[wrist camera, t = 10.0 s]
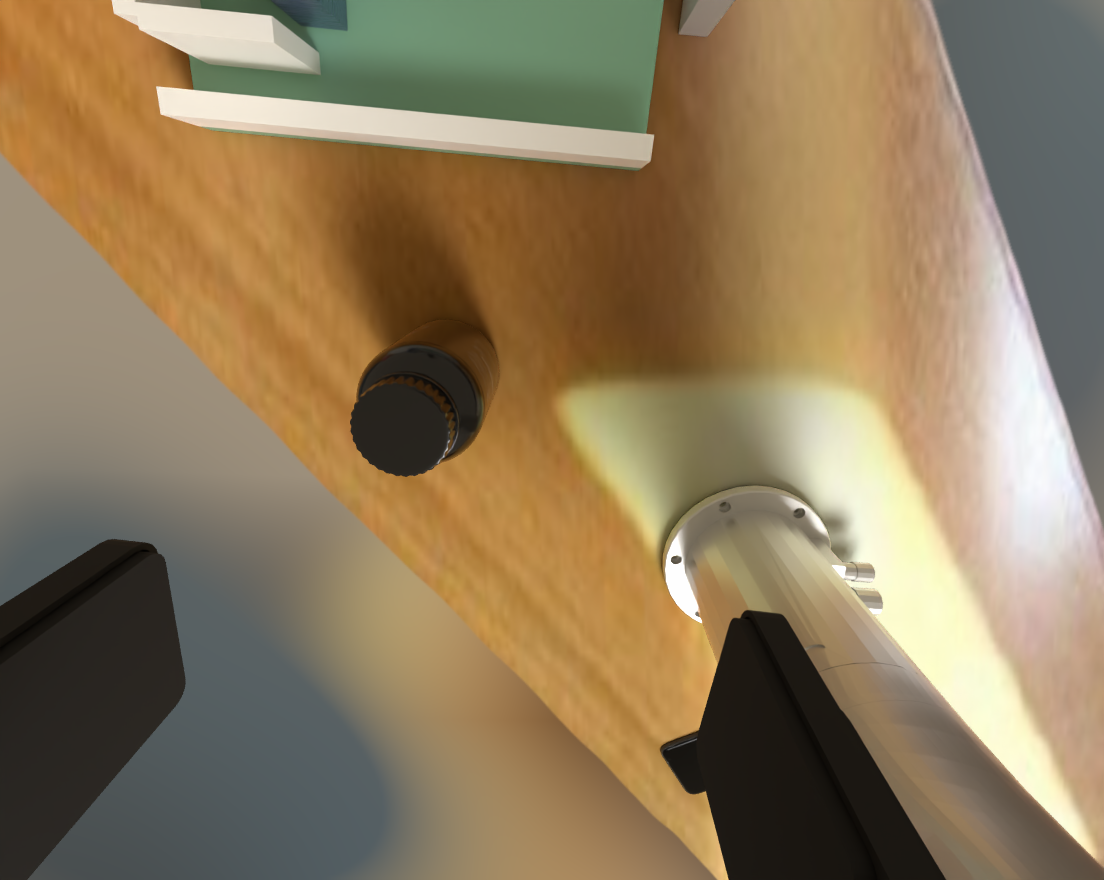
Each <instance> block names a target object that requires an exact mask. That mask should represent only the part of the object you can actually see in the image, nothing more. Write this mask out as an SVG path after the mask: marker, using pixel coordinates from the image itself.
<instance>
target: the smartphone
mask: <svg viewBox="0 0 1104 880" xmlns="http://www.w3.org/2000/svg"><path fill="white" fill-rule="evenodd" d="M698 732H699V731H698ZM698 732H695V733H693V734H690V735H687V736H685V737H682V738H679V739H677V740H674V741H671V742H669V743H666V744H665V745H663V746H662V747H661V754H662V756H663V758H664V759H665V761H666V762H667V764H668V765H669V767H670V768H671V770H672V772H673V773H674V775H675V776H676V778H677V779H678V781H679V782H680V784H681V785H682V787H683V788H684V789H685V791H686V792H688V793H689V794H699V793H702V792H705V791H706V790H705V786H704V782H703V778H702V774H701V770H700V766H699V762H698V758H697V736H698Z"/></svg>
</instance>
